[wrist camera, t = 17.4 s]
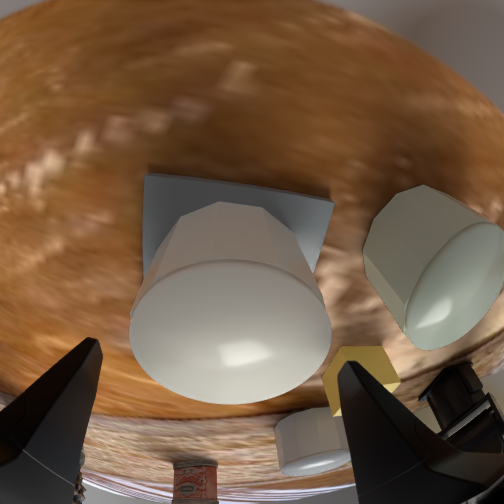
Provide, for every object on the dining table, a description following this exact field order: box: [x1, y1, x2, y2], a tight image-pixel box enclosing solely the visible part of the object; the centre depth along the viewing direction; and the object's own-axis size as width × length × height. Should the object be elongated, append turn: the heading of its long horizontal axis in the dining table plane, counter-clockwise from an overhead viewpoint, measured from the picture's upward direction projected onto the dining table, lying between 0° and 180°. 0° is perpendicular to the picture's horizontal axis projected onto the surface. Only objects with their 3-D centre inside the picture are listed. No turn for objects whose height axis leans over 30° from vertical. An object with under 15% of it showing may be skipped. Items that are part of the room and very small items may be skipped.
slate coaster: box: [143, 172, 335, 278], centre depth 14 cm, size 9×9×1 cm
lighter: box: [172, 460, 219, 504], centre depth 27 cm, size 8×3×10 cm, turn 122°
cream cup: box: [129, 201, 332, 404], centre depth 12 cm, size 7×7×6 cm
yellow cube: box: [322, 346, 401, 416], centre depth 18 cm, size 4×4×4 cm
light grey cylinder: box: [274, 407, 351, 476], centre depth 23 cm, size 7×7×6 cm
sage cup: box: [362, 185, 504, 350], centre depth 13 cm, size 7×7×6 cm
